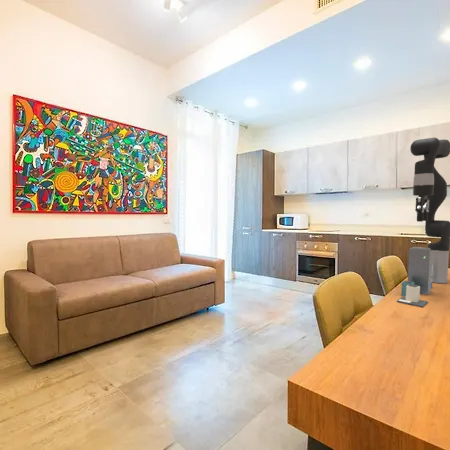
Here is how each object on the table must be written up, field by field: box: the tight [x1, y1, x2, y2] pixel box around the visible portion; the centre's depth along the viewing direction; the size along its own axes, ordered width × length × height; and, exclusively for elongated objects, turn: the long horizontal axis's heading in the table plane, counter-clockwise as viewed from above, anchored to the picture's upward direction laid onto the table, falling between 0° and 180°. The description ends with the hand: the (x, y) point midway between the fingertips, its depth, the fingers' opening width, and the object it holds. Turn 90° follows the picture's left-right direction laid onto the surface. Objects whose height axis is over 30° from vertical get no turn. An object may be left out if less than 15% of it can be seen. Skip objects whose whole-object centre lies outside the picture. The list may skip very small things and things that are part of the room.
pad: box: [396, 296, 429, 308], centre depth 118 cm, size 9×9×1 cm
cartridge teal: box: [401, 280, 415, 297], centre depth 128 cm, size 4×4×6 cm
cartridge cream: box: [405, 284, 421, 303], centre depth 118 cm, size 4×4×6 cm
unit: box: [407, 246, 433, 296], centre depth 134 cm, size 7×8×21 cm
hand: (422, 221), depth 128 cm, fingers open, 8 cm apart
